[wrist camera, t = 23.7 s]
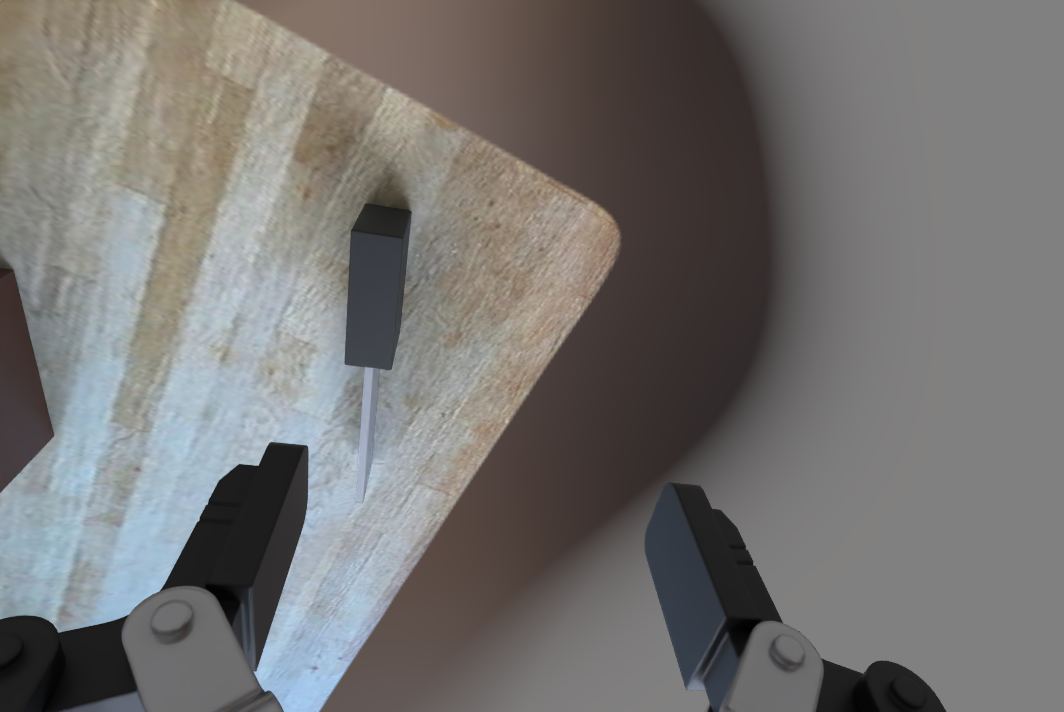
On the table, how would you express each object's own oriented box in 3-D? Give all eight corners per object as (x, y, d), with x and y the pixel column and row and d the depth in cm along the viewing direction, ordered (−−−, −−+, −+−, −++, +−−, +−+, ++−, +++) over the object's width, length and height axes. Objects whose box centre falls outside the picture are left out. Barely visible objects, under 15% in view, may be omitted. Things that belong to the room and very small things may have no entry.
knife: (365, 202, 34) (350, 229, 30) (411, 210, 35) (404, 237, 31) (349, 461, 43) (337, 507, 40) (386, 465, 44) (378, 511, 40)
